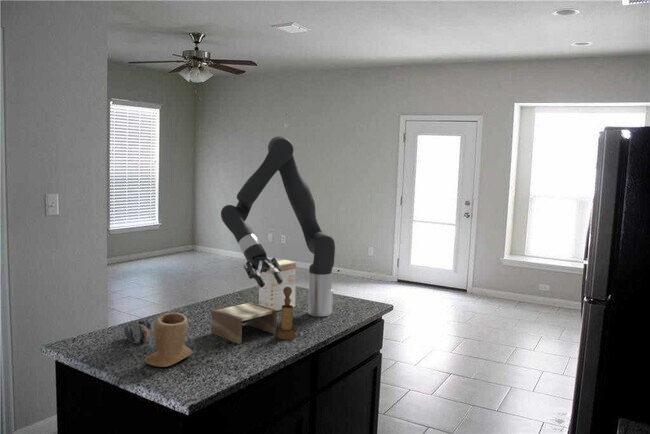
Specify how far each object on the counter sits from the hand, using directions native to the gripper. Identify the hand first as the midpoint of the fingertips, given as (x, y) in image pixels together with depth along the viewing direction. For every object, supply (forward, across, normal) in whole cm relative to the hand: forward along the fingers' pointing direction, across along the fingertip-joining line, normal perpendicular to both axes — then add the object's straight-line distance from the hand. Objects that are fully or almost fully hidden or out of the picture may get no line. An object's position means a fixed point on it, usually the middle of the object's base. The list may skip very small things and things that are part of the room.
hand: (272, 284), depth 200 cm
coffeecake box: (-3, +23, +28) cm, 37 cm away
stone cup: (+13, -42, +12) cm, 46 cm away
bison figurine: (-4, -39, +29) cm, 48 cm away
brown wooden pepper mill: (+18, 0, +7) cm, 19 cm away
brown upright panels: (+9, -8, +16) cm, 20 cm away
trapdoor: (+7, -8, +14) cm, 18 cm away
